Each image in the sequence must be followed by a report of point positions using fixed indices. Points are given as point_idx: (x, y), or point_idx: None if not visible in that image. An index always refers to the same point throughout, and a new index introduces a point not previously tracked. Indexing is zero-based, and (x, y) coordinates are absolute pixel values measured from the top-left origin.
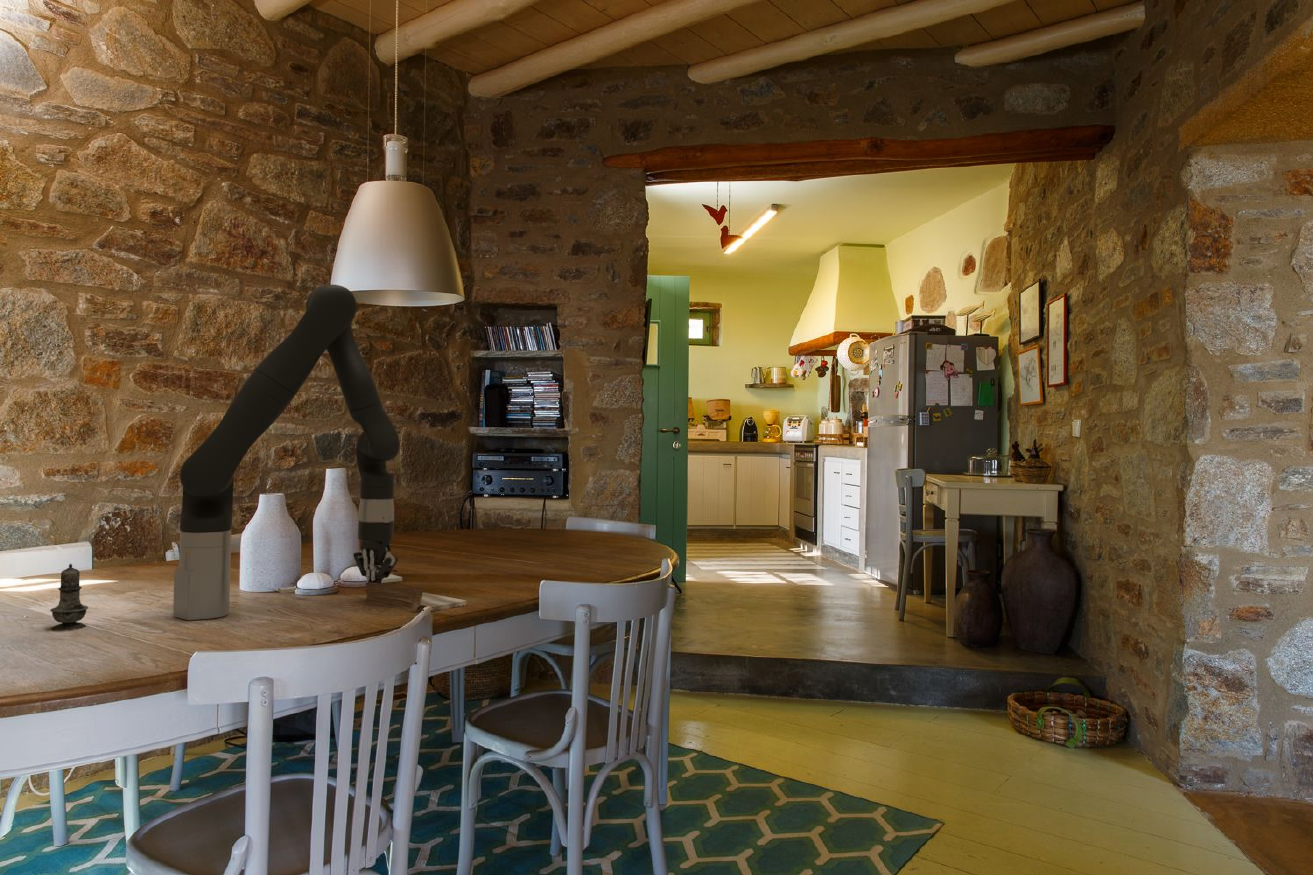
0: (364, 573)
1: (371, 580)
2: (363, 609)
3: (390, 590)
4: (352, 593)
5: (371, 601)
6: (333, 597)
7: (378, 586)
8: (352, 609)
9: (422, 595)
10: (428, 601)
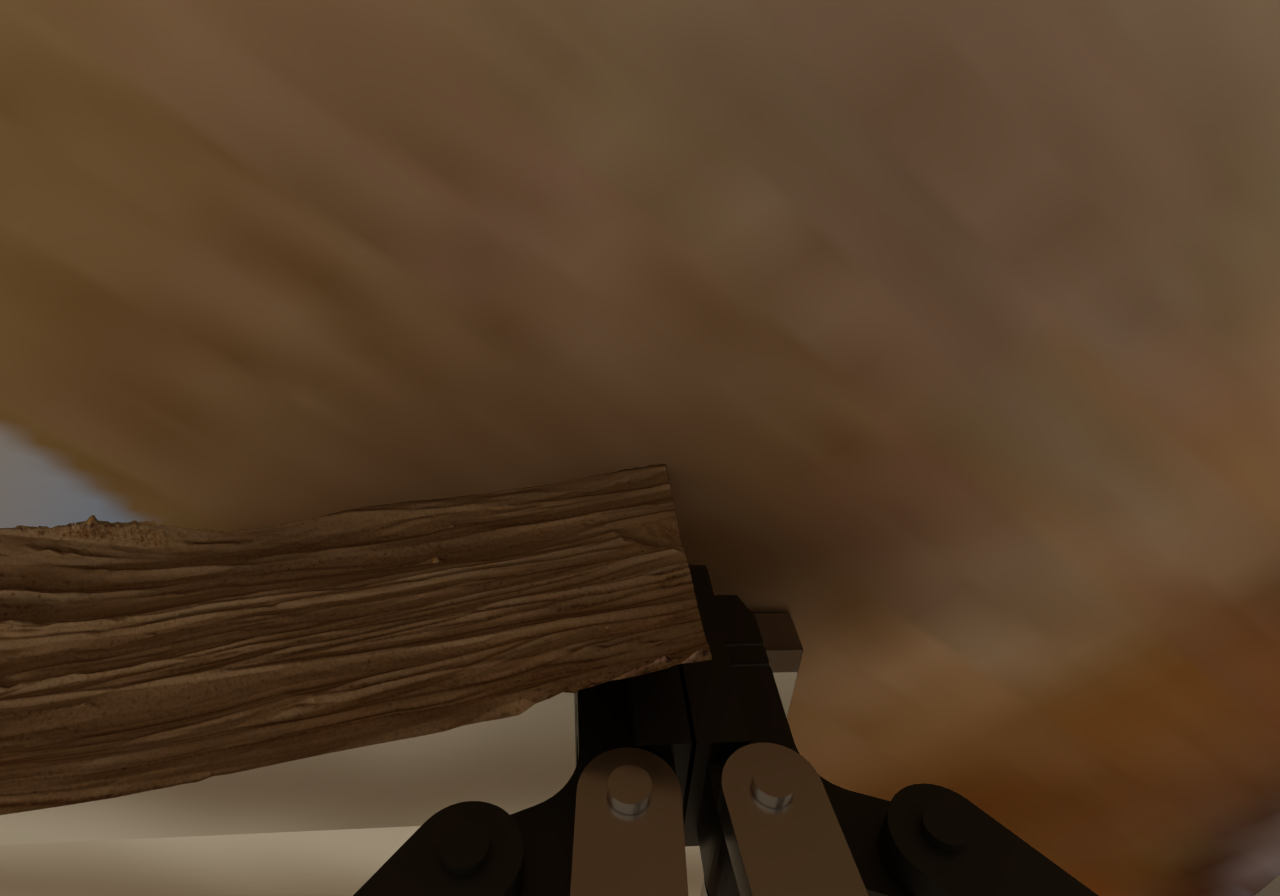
0: (896, 837)
1: (703, 760)
2: (371, 219)
3: (225, 693)
4: (1178, 668)
5: (591, 505)
6: (1262, 454)
7: (449, 681)
8: (489, 110)
9: None
10: None
